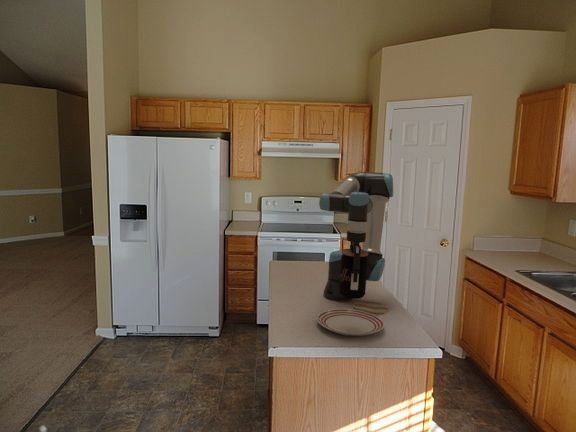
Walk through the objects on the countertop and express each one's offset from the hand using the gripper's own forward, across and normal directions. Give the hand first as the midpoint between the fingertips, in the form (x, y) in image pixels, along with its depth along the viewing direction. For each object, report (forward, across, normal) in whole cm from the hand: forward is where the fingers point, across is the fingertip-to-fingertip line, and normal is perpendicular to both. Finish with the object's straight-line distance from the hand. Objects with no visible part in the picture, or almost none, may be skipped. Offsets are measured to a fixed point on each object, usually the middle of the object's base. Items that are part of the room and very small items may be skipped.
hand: (352, 285), depth 162 cm
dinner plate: (+18, 0, 0) cm, 18 cm away
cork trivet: (+17, -23, +12) cm, 32 cm away
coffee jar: (+4, 0, 0) cm, 4 cm away
